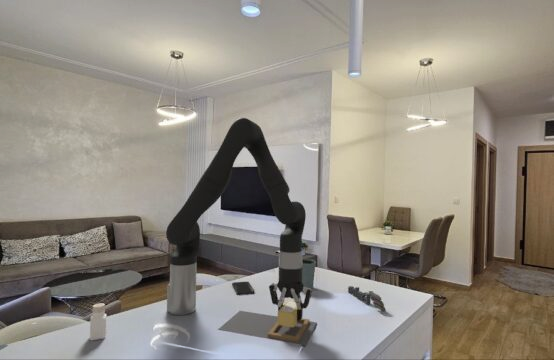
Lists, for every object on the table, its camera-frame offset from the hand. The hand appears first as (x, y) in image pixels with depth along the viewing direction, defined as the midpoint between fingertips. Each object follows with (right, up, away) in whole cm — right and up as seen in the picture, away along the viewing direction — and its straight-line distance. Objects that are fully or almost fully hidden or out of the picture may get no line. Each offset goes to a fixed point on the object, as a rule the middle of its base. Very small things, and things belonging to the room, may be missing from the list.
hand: (290, 318), depth 101 cm
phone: (-19, -5, +40) cm, 45 cm away
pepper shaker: (-57, -3, -6) cm, 58 cm away
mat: (-7, -4, +2) cm, 8 cm away
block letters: (+31, -5, +25) cm, 40 cm away
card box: (0, 0, 0) cm, 0 cm away
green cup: (+8, -5, +43) cm, 44 cm away
